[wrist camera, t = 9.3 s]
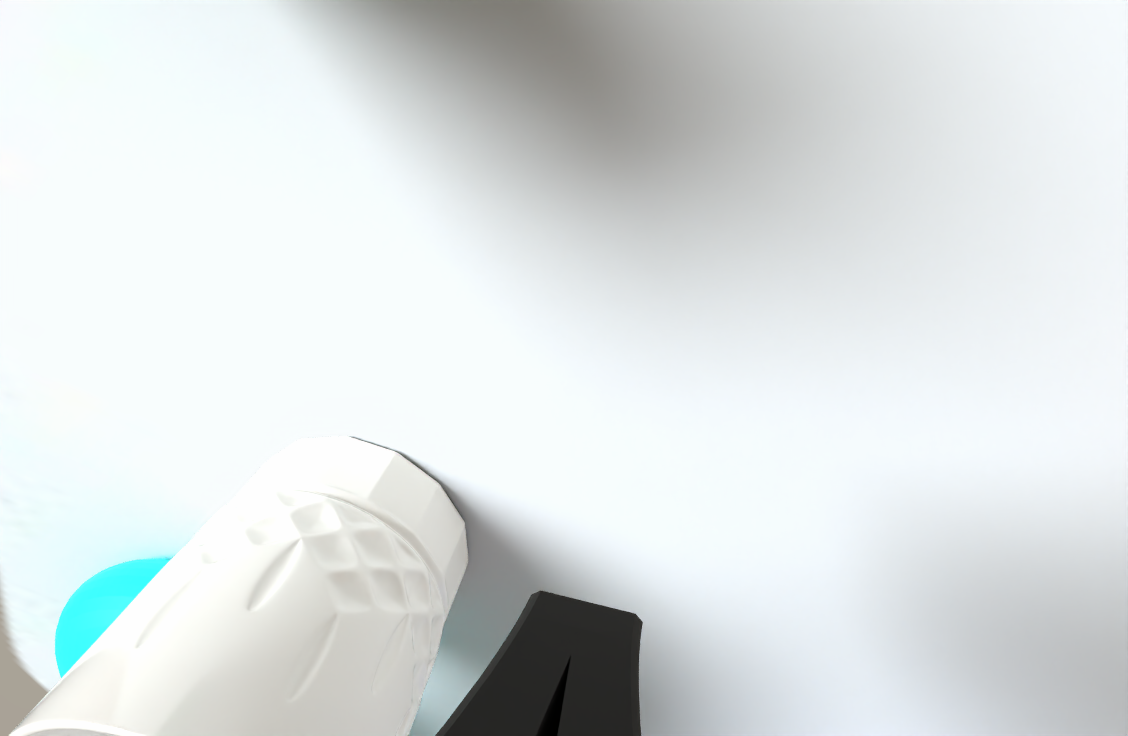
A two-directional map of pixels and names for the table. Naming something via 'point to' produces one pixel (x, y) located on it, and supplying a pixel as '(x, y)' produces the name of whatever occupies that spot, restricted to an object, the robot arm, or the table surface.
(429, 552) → the white cup
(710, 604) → the table surface
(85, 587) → the donuts
